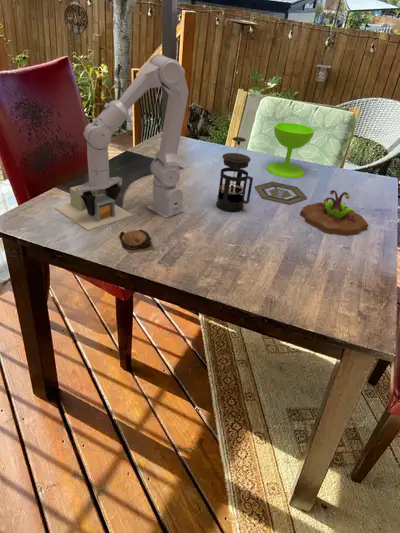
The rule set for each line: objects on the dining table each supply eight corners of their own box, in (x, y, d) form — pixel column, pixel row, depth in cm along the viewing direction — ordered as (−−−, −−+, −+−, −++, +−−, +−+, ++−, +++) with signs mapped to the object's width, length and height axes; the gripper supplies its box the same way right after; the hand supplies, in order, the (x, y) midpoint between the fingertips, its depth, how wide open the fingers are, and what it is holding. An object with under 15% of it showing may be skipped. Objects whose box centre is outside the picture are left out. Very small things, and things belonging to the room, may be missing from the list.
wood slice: (157, 251, 109) (157, 239, 107) (126, 255, 105) (126, 243, 103) (144, 232, 117) (144, 221, 115) (115, 236, 113) (115, 224, 111)
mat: (132, 215, 123) (132, 214, 123) (87, 231, 113) (87, 229, 113) (98, 196, 133) (98, 194, 133) (54, 208, 123) (54, 207, 123)
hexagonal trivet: (303, 208, 140) (304, 206, 139) (248, 196, 145) (249, 194, 144) (309, 191, 154) (310, 189, 153) (259, 180, 158) (259, 178, 158)
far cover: (97, 206, 126) (97, 190, 123) (81, 211, 122) (80, 194, 119) (87, 199, 129) (85, 183, 126) (71, 204, 125) (69, 187, 122)
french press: (209, 205, 134) (216, 137, 122) (222, 197, 141) (230, 131, 128) (240, 216, 130) (251, 146, 117) (252, 206, 137) (264, 139, 124)
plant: (328, 240, 122) (338, 207, 116) (291, 212, 137) (298, 181, 130) (376, 231, 130) (388, 200, 124) (336, 206, 144) (345, 176, 138)
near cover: (115, 216, 121) (114, 200, 118) (98, 222, 117) (97, 205, 114) (103, 209, 124) (102, 193, 121) (87, 214, 121) (86, 197, 117)
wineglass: (276, 161, 179) (285, 120, 169) (309, 171, 172) (320, 129, 162) (259, 170, 168) (267, 126, 158) (294, 181, 161) (304, 136, 151)
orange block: (110, 216, 121) (110, 204, 119) (99, 220, 118) (98, 207, 116) (103, 211, 123) (102, 199, 121) (91, 215, 121) (90, 202, 118)
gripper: (111, 159, 119) (112, 201, 127) (67, 168, 110) (72, 213, 118) (126, 166, 115) (126, 208, 123) (82, 176, 106) (85, 222, 114)
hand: (101, 211), depth 120 cm, fingers open, 6 cm apart
